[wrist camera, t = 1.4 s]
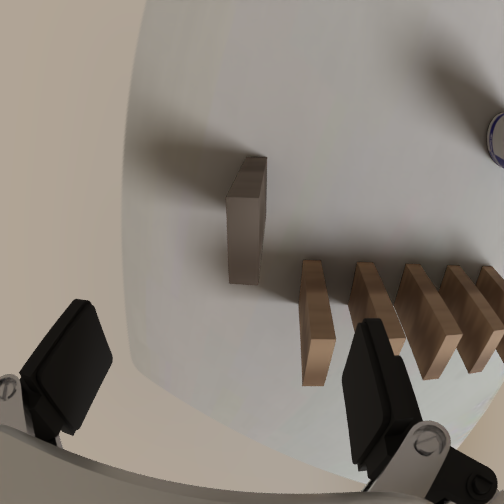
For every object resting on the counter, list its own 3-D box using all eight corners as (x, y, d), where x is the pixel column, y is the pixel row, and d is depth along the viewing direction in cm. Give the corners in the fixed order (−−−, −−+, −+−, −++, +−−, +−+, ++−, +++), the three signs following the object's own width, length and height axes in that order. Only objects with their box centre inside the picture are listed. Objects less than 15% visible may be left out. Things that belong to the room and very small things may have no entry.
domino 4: (405, 263, 27) (446, 335, 18) (419, 264, 27) (463, 334, 18) (393, 305, 29) (422, 380, 21) (406, 305, 29) (438, 378, 20)
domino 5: (447, 265, 27) (493, 330, 18) (459, 265, 26) (506, 329, 18) (433, 305, 29) (468, 373, 20) (445, 304, 29) (481, 371, 20)
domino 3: (357, 261, 27) (385, 338, 19) (373, 262, 27) (406, 338, 18) (348, 305, 30) (366, 384, 21) (363, 305, 30) (385, 383, 21)
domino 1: (246, 156, 24) (226, 197, 15) (267, 157, 24) (259, 198, 15) (246, 215, 26) (229, 283, 17) (265, 216, 26) (258, 285, 17)
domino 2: (303, 259, 28) (311, 339, 19) (320, 260, 28) (336, 339, 19) (298, 304, 30) (302, 386, 21) (314, 304, 30) (323, 386, 21)
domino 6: (482, 266, 26) (530, 325, 17) (492, 266, 26) (539, 324, 17) (467, 304, 29) (505, 366, 20) (477, 303, 28) (515, 364, 20)
